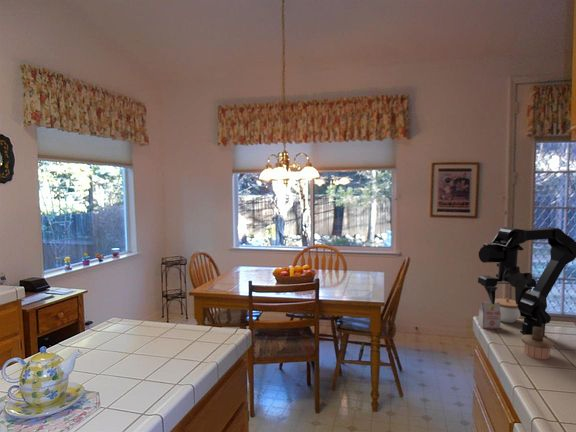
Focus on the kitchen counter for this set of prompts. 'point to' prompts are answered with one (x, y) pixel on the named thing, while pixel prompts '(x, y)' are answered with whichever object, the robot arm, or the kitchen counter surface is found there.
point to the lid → (537, 339)
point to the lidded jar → (508, 310)
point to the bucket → (536, 352)
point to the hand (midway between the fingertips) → (505, 304)
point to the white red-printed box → (489, 315)
